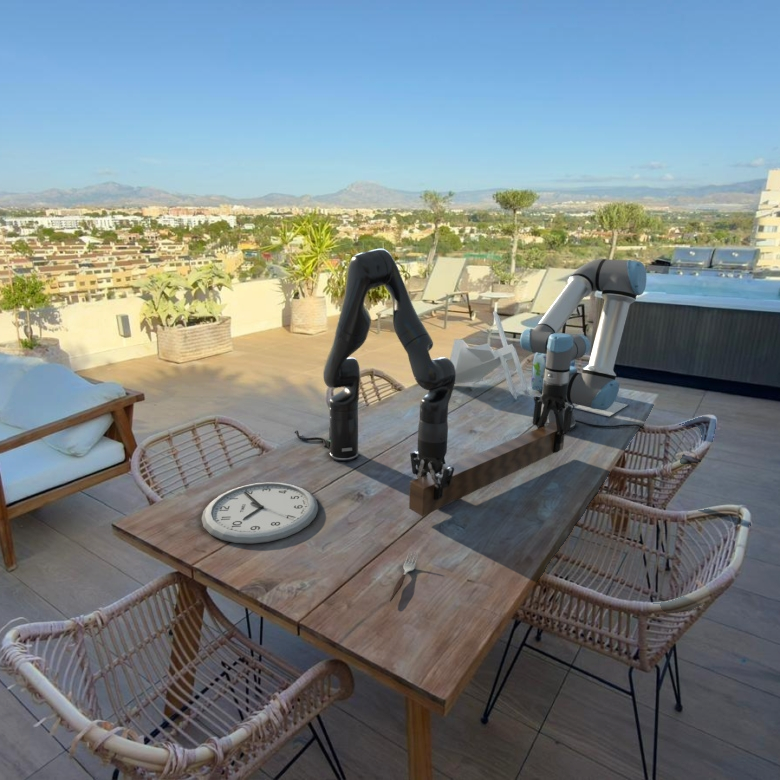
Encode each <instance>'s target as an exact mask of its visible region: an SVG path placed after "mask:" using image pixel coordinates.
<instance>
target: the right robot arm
mask: <svg viewBox="0 0 780 780" xmlns="http://www.w3.org/2000/svg"><path fill="white" fill-rule="evenodd" d="M565 284H566V285H565V287H564V289H563V290H562V291H561V293H560V294H559V295H558V297H557V298H556V299H555V301H554V302H553V303H552V304H551V306H550V307H549V309H548V310H547V311H546V313H544V315H543V316H542V317H541V319H540V321H539V322H538V323H537V325H536V326H535V327H534V328H525V329H523V331H522V332H521V334H520V337H519V344H520V347H521V349H522V350H525V351H528V352H532V353H536V352H537V353H543V354H547V355H546V366H545V375H544V379H543V380H544V381H543V391H541V393H542V394H541V395H540V394H538V395H536V396H534V397H533V401H534V409H533V417H532V425H533V426H536V427H537V429H539V428H541V427H543V426H546V425H548V424H551V423H555V424H556V426H557V433H556V434H555V438H554V447H553V454H557V453H558V452H560V451H561V450H560V444H561V443H562V442H563V436H564V435H565V436H566V435H567V434H570V432H571V431H572V430H574V429H575V428H576V423H577V424H582V425H585V426H591V427H596V428H607V429H609V428H610V429H611V428H613V429H614V428H620V427H639V428H640V429H641V430H645V427H644V426H642V425H641V424H638V423H633V424H632V423H630V424H627V423H624V424H623V423H622V424H616V425H614V424H613V425H602V424H595V423H588V422H585V421H581V420H578V419H576V418H575V417H576V416H575V413H574V409H575V408H574V407H575V405H577V406H578V405H582V406H586V407H590V408H592V409H599V410H606V409H608V408H609V407H610V406H611V405H612V404H613V403H614V402H616V399H617V398H618V394H619V391H620V382H619V381H618V379H616V378H617V374H616V372H615V371H614V368H615V364H616V360H617V356H618V352H619V347H620V344H621V341H622V337H623V333H624V329H625V324H626V322H627V321H626V320H627V317H628V313H629V309H630V306H631V304H633V303H634V302H636V301H637V296H642V295H643V294H644V292H645V290H646V286H647V269H646V266H645V264H644V263H643V262H642V261H638V260H631V259H609V258H608V259H607V258H598V259H594V260H593V259H592V260H591V261H588V262H585V264H582V265H581V266H579V268H577V269H576V270H575V271H574V272H572V273H571V275H569V276H568V279H566V283H565ZM592 292H601V298H602V299H603V300H604V301H603V305H602V309H601V313H600V317H599V320H598V325H597V329H596V333H595V336H594V341H593V345H592V349H591V342H590V340H589V338H588V337H587V336H586V335H584V334H578V333H576V334H573V335H572V334H569V333H563V332H561V330H562V328H563V327H564V326H565V324H566V323H567V322H568V320H569V319H570V317H571V316H572V315H573V313H574V312H575V310H576V309H577V308H578V306H579V305H580V304H581V303H582V301H583V299H585V298H587V297H588V296H590V294H591V293H592ZM590 349H591V353H590V356H589V360H588V361H589V362H588V364H587V365H586V366H584V367H583V368H582V370H581V372H578V368H577V367H576V366H574V367H573V366H570V364H571V361H572V360H575V361H576V360H577V359H581V358H583V357H585V355H587V354H588V353H589V352H590ZM559 450H560V451H559Z"/></svg>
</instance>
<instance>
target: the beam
mask: <svg viewBox="0 0 780 780" xmlns="http://www.w3.org/2000/svg"><path fill="white" fill-rule="evenodd" d="M556 433H557V426H556V424H555V423H551V424H548V425H546V426H543V427H541V428H539V429H538V428H536V429H534V430H530V431H529V432H526V433H524V434H521V435H520V436H517V437H515V438H512V439H509V440H508V441H505V442H502V443H499V444H498V445H495V446H493V447H490V448H488V449H485V450H482V451H481V452H478V453H476V454H473V455H471V456H468V457H466V458H464V459H461V460H458V461H456V462H454V463H451V464H449V465H447V466H448V467H453V468H454V472H453V476H452V479H451V483H450V486H448V487H445V488H444V489H443V496H442V498H441V499H439V500H437V501H436V500H434V487H435V484H434V480H432V478H431V474H430V473H427V475H425V476H422V477H420V478H414V479H413V480H411V481H409V499H408V500H409V503H408V504H409V505H408V508H409V510H410V511H412V512H414V513H416V514H417V515H419V516H421V517H424V516H426V515H428V514H430V513H432V512H434V511H437V510H438V509H441V508H443V507H445V506H447V505H450V504H451V503H454V502H455V501H458V500H460V499H462V498H464V497H466V496H468V495H471V494H472V493H474V492H477V491H478V490H480V489H482V488H485V487H487V486H488V485H491V484H493V483H495V482H497V481H499V480H501V479H503V478H505V477H507V476H510V475H511V474H513V473H515V472H518V471H520V470H522V469H525V468H526V467H529V466H530V465H533V464H535V463H537V462H538V461H539V462H540V460H543V459H545V458H548V457H549V456H551V455H553V454H554V453H553V447H554V438H555V434H556ZM565 436H566V435H564V436H563V442H562V443H561V444H560V450H559V451H558V452H560V451H562V450H563V449H564V445H565V444H564V443H565ZM438 474H439V473H437V474H436V475H438ZM438 482H440V481H439V479H438Z"/></svg>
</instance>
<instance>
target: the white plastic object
mask: <svg viewBox="0 0 780 780" xmlns="http://www.w3.org/2000/svg"><path fill="white" fill-rule="evenodd" d="M492 315H493V319H494V321H495V324H496V325H495V326H496V328H497V332H498V335H499V338H500V342H501V345H502V347H500V348H498V349H496V350H495V349H493V348H492V347H491V346H490V344H489V343H488V342H487V343H483V344H479V345H473V346H469V345H468V343H466V342H465V340H464V339H463V338H460V339H458V338H454V340H453V344H452V349H451V353H450V357H449V360H451V362H452V363H453V365H454V367H455V371H456V378H455V384H454V385H458V384H467V383H468V384H469V383H473V384H477V383H480V382H482V381H484V378H485V377H486V376H487V375H489V374H490V373H492V372H494V371H495V370H496V369H497V368H499V367H500V366H502V370H503V373H504V376H505V380H506V383H507V386H508V390H509V393H510V394H511V395H512V397H513V398H514V399H515V400H517V392H516V391H517V390H516V388H515V385H514V381H513V378H512V375H511V371H510V369H509V365H508V361H510V360H513V363H514V366H515V369H516V372H517V376H518V380H519V382H520V385H521V389H522V391H523V393H524V395H525V396H526V397H528V396H531V395H530V390H529V388H528V387H529V386H528V384H527V381H526V378H525V375H524V371H523V369H522V368H523V367H522V366H521V362H520V359H519V355H518V352H517V349H516V347H515V346H514V345H513V343H511V344H508V341H507V337H506V334H505V331H504V328H503V325H502V321H501V318H500V315H499V314H498V312H497V311H496V310H495V311H492Z"/></svg>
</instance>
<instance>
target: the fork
mask: <svg viewBox="0 0 780 780" xmlns="http://www.w3.org/2000/svg"><path fill="white" fill-rule="evenodd" d="M410 552H411V553H410ZM409 555H410V557H409ZM412 556H413V557H412ZM415 556H416V557H415ZM418 557H419V554H417V555H416V552H414V554H413V551H410V550H409V551H408V553H407V556H406V558H405V562H404V564H403V571H404V572H403V574H402V575H401V576H400V578H399V579H398V580H397V582H396V584H395V586H394V589H393V592H392V594H391V596H390V599H389V602H392V601H393V599H394V597H396V595H397V594H398V592H399V590H400V589H401V587H402V586H403V584H404V581H405V578H406V575H407V573H409V572H412V571H414V570H415V568H416V566H417V561H418Z"/></svg>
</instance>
